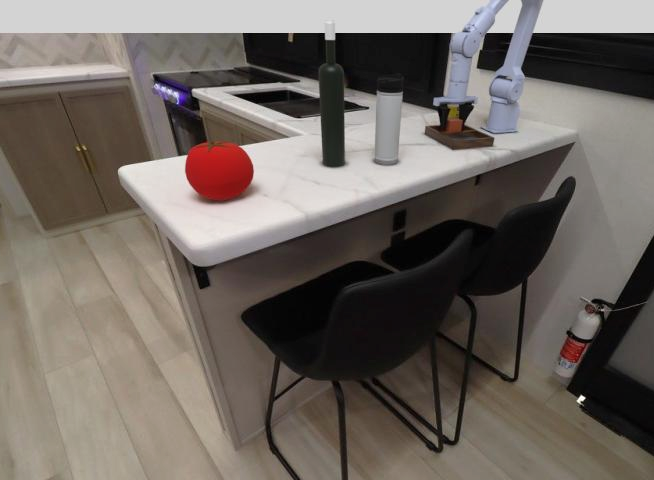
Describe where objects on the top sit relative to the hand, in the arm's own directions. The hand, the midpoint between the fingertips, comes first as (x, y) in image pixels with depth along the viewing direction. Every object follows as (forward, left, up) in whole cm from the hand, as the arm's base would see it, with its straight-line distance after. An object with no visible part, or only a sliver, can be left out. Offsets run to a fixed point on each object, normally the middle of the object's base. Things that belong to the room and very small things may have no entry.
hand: (451, 129), depth 121 cm
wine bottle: (+44, +15, -2) cm, 47 cm away
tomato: (+72, +28, -2) cm, 77 cm away
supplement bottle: (-8, -13, -2) cm, 15 cm away
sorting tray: (0, +4, -2) cm, 5 cm away
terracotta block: (0, 0, -1) cm, 1 cm away
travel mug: (+30, +17, -2) cm, 35 cm away
